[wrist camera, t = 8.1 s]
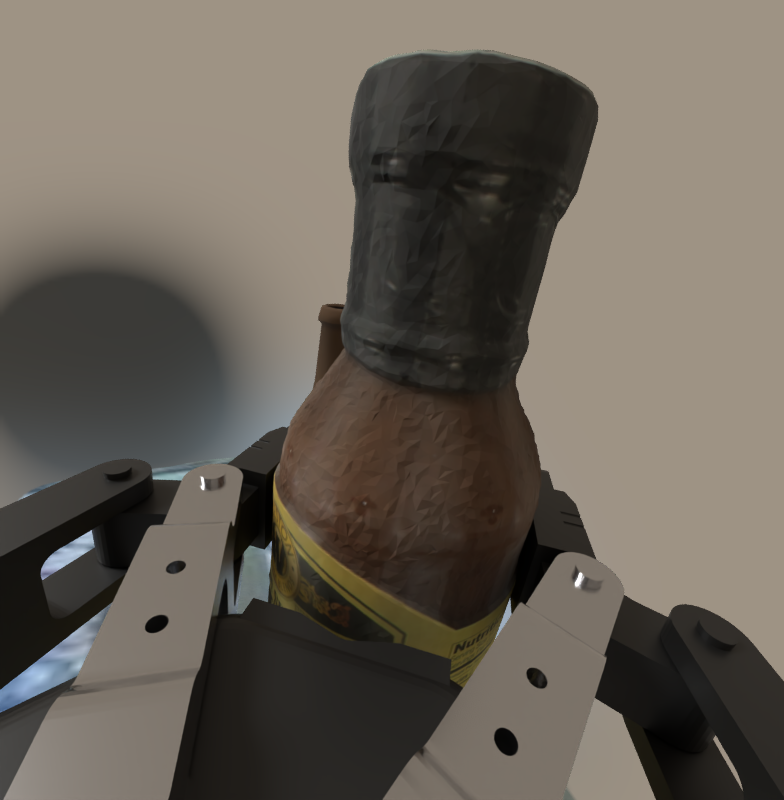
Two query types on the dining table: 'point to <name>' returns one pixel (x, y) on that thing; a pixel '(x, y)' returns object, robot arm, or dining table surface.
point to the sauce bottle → (431, 356)
